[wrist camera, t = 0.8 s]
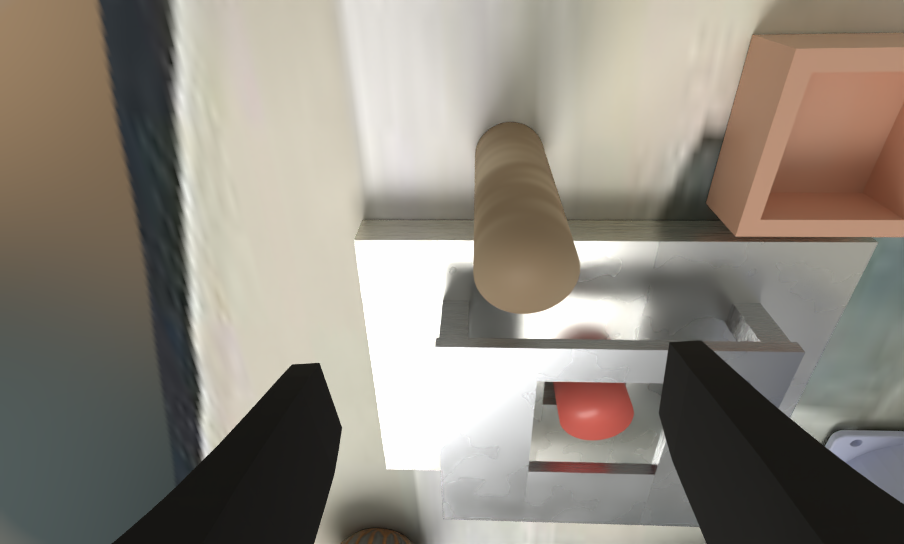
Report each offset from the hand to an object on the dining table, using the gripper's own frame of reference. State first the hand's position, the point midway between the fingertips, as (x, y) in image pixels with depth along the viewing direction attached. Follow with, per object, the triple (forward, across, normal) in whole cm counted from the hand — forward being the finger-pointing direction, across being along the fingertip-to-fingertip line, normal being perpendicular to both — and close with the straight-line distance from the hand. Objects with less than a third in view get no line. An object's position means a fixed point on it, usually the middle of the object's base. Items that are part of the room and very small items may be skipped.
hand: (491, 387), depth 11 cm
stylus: (+10, -1, -2) cm, 10 cm away
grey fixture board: (+10, -4, +8) cm, 13 cm away
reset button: (+8, -4, +8) cm, 12 cm away
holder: (+10, -11, -2) cm, 15 cm away
